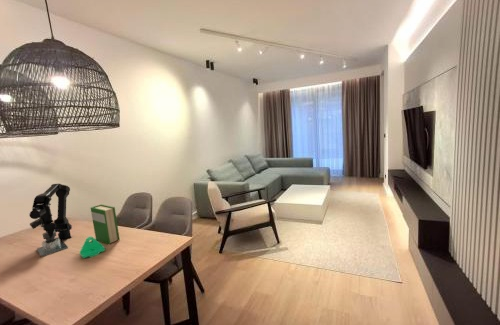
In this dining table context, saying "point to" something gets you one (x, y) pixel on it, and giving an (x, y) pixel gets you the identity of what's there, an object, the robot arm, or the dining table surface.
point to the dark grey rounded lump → (48, 239)
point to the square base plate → (51, 247)
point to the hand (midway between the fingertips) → (49, 236)
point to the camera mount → (91, 248)
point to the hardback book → (105, 223)
